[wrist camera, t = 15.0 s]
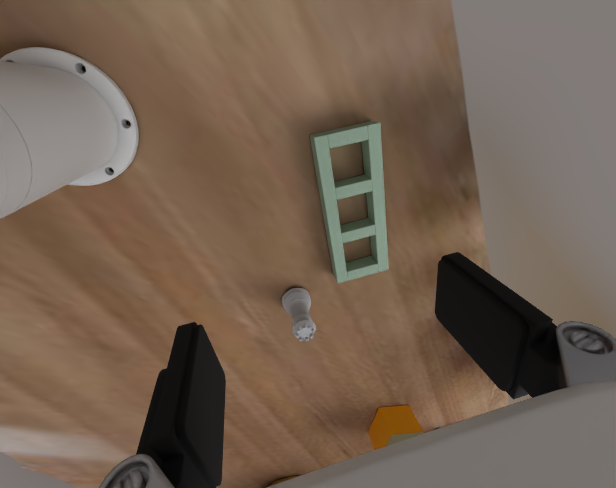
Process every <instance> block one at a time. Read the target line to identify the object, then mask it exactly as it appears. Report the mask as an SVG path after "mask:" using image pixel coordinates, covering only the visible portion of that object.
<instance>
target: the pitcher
mask: <svg viewBox="0 0 616 488" xmlns="http://www.w3.org/2000/svg"><path fill="white" fill-rule="evenodd" d="M295 477H298V476H290V477H287V478H284V479H282V480H281V479H279V480H278V481H274V482H273V483H272V484H271V485H269V486H268V487H270V486H272V485H275V484H278V483H281V482H283V481H286V480H289V479H292V478H295Z"/></svg>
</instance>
